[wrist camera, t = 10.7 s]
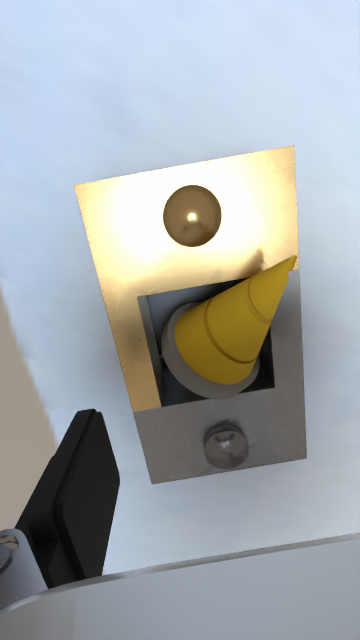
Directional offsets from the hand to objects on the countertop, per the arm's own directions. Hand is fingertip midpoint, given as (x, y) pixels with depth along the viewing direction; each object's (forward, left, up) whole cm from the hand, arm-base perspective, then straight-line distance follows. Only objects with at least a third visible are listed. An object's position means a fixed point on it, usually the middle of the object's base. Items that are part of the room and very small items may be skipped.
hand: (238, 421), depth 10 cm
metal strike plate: (+1, +1, -9) cm, 9 cm away
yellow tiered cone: (+1, 0, -9) cm, 9 cm away
